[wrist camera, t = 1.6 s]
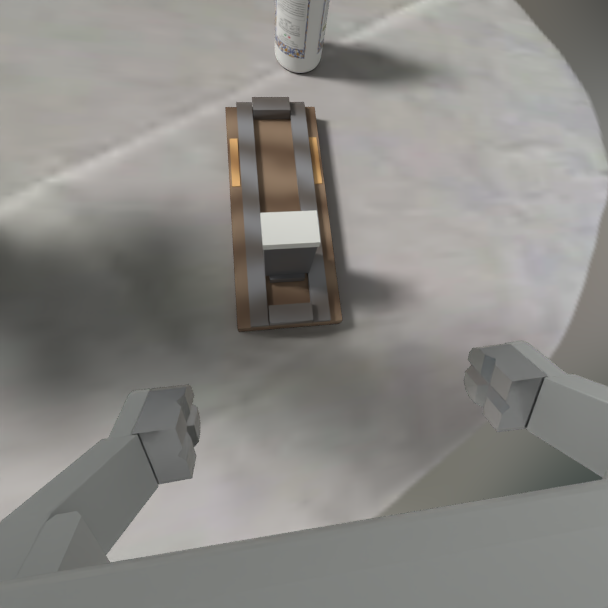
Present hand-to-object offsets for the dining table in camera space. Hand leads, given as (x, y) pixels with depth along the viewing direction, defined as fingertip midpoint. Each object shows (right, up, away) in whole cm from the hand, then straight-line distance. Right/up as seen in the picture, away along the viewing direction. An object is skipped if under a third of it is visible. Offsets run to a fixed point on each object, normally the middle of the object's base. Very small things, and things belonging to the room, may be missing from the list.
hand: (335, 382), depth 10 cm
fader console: (-4, +14, +34) cm, 37 cm away
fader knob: (-3, +7, +30) cm, 31 cm away
